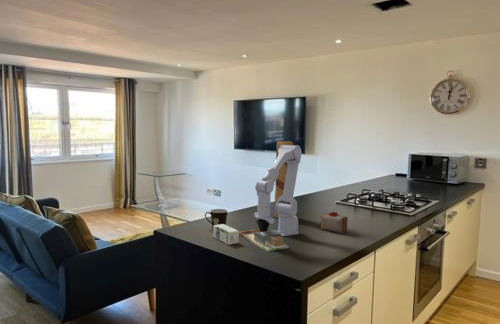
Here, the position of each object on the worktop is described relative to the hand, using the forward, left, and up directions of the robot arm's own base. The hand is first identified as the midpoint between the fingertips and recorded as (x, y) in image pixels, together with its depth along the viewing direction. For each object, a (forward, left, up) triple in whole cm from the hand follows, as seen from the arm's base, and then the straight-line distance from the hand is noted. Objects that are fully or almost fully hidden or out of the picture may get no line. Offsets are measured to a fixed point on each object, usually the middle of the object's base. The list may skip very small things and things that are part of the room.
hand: (263, 235), depth 165 cm
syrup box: (+14, -3, 0) cm, 14 cm away
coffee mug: (+11, -28, -3) cm, 30 cm away
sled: (0, +7, -2) cm, 8 cm away
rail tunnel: (0, -2, -3) cm, 3 cm away
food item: (-43, 0, -3) cm, 43 cm away
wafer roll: (-35, -36, -3) cm, 50 cm away
